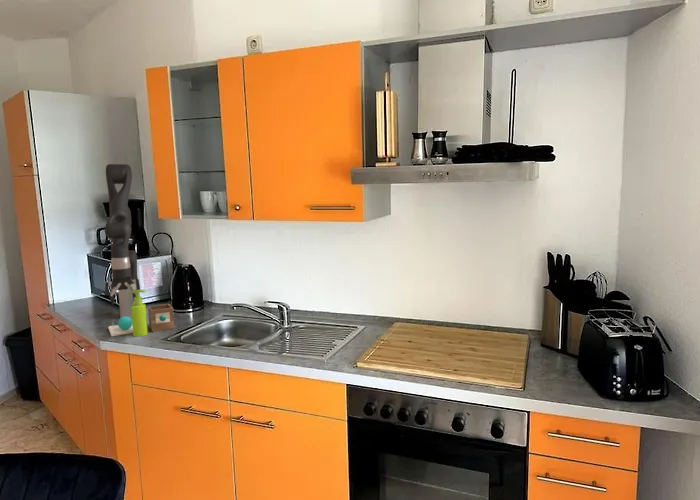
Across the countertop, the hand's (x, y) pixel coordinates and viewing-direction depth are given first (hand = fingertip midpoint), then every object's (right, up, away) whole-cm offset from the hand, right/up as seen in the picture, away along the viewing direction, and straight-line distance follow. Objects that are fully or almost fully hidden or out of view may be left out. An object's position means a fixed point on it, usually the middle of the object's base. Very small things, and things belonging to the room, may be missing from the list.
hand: (123, 302), depth 224 cm
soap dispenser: (+10, -14, -5) cm, 18 cm away
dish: (0, -13, +2) cm, 13 cm away
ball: (0, -9, +1) cm, 9 cm away
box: (+16, -12, +4) cm, 20 cm away
